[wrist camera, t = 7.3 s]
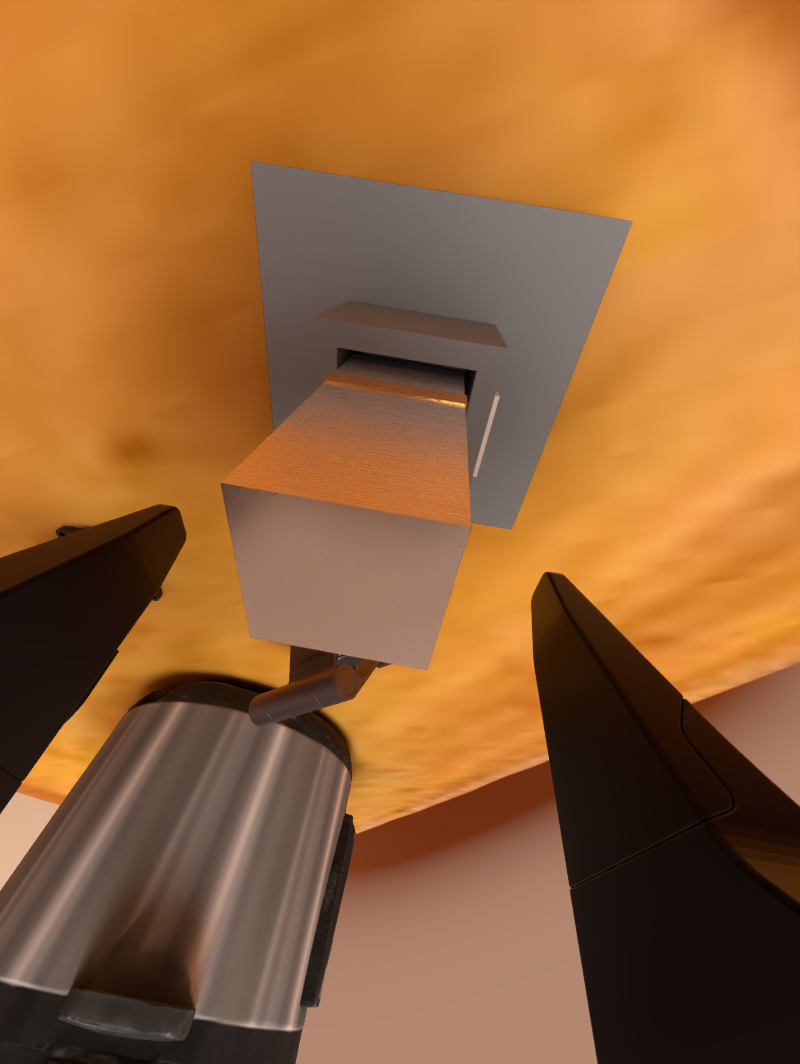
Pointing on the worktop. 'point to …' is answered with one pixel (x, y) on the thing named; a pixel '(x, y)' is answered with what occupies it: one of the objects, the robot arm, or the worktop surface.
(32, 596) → the robot arm
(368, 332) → the grey socket plate
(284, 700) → the portable electronic device stand
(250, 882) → the pressure cooker
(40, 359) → the worktop surface
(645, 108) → the worktop surface
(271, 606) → the steel column
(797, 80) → the worktop surface
